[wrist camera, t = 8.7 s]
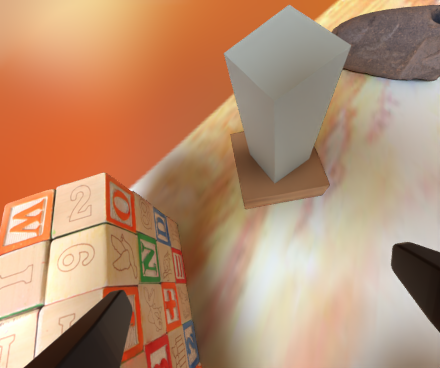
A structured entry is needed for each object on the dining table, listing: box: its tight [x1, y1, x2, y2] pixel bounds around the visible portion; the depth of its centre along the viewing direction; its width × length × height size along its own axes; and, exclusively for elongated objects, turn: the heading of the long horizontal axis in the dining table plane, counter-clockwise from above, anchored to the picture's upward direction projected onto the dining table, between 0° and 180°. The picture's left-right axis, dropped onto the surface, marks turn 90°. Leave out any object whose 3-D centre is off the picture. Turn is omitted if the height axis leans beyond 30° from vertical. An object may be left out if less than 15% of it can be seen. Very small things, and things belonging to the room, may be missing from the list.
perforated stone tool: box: [332, 5, 440, 81], centre depth 24 cm, size 15×5×7 cm, turn 66°
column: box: [224, 5, 351, 183], centre depth 15 cm, size 4×4×12 cm
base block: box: [230, 132, 330, 209], centre depth 23 cm, size 8×8×3 cm
